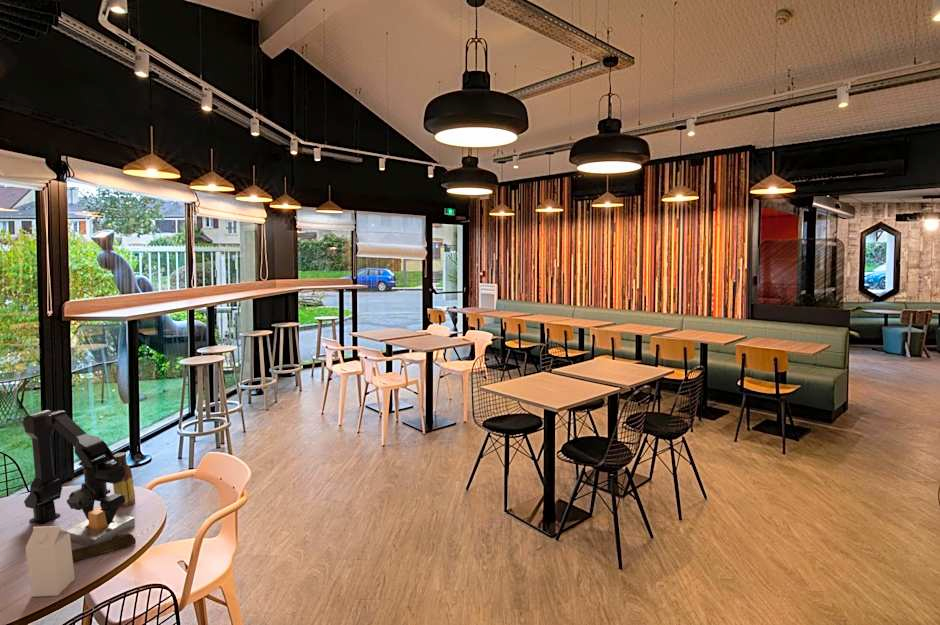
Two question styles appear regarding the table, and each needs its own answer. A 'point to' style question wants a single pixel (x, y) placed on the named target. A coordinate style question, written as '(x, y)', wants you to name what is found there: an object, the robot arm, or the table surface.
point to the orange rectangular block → (97, 519)
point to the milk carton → (49, 561)
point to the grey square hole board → (90, 536)
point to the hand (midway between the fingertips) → (99, 521)
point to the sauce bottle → (124, 481)
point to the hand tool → (104, 546)
